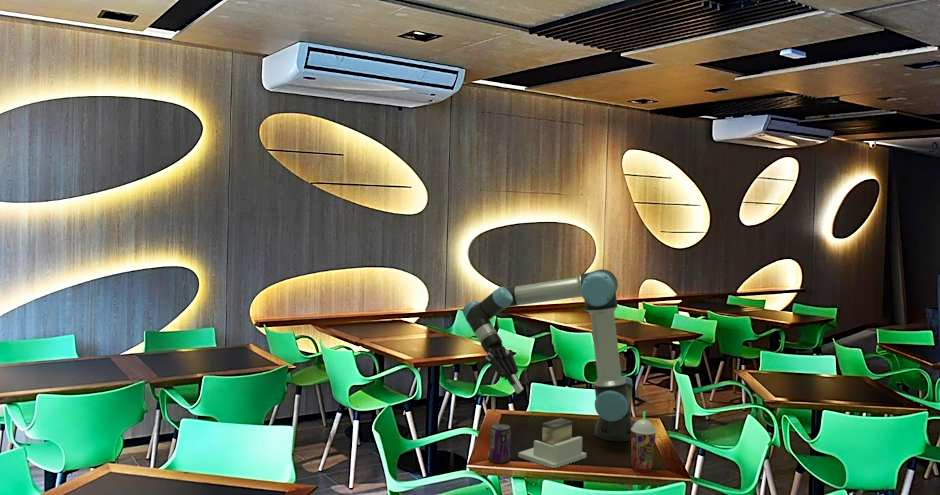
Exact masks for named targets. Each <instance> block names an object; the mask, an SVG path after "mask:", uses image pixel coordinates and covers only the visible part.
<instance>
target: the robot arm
mask: <svg viewBox="0 0 940 495" xmlns="http://www.w3.org/2000/svg"><path fill="white" fill-rule="evenodd" d="M617 290H618V279H617V277H616V275H615V274H614V273H613V272H611V271H609V270H608V269H596V270H594V271H590V272H586V273H580V274H579V276H576V277H571V278H564V279H557V280H549V281H544V282H537V283H530V284H524V285H517V286H511V287H509V286H508V287H507V286H505V287H504V286H500V287H498V288H497V289H495V290H493V291H492V293H490V294H489V295H488V296H486V297H485V298H484V299H483V300H481V301H480V302H479V301H478V300H472V301H470V302H469V303H467V304H466V305H464V306H463V308H462V314H463V317H464V318H465V321H466V322H467V323H468V325H469V327H470V328H471V331H472V332H473V334H474V335H475V337H476V339H477V341H478V342H479V343H480V345H481V347H482V349H483V351H484V352H485V353H486V354H487V355H486V356H485V357H484V360H485V361H486V362H488V364H490V365H491V367H492V368H493V370H495V372H496V373H497V374H498V376H499V377H500V378H502V379H504V381H505V380H507V381H508V383H509V384H510V385H511V387H512V388H513V389H514V391H515V393H516V394H517V395H518V394H520V393H521V392H522V391H523V390H524V387H523V386H522V384H521V380H520V378H518V376H517V373H518V372H519V368H518V366H517V363H516V361H515V357H514V356H513V350H512V349H509V350H508V349H507V348H506V347H505V346H504V345H503V340H502V339H501V337H500V335H499V334H498V333H497V332H498V331H497V330H496V329H495V326H494V325H493V324H492V322H491V320H492V319H493V318H494V317H496V316H497V315H499V313H501V312H502V311H503V310H505V309H507V308H510V307H511V308H512V307H517V306H524V305H530V304H531V305H532V304H537V303H539V304H540V303H546V302H554V301H562V300H567V299H573V298H574V299H575V298H583V299H584V300H583V301H584V307H585V309H584V310H585V311H586V312H588V314H589V316H590V322H591V331H592V340H593V341H592V342H593V350H594V356H595V357H594V358H595V364H596V365H595V366H596V376H597V379H596V380H595V381H594V384H593V385H594V393H595V400H594V408H595V411H596V413H597V415H598V418H597V422H596V423H595V428H594V435H595V436H596V437H597V438H599V439H602V440H604V441H610V442H627V441H628V442H629V441H631V428H632V426H633V424H634V423H633V420H632V400H633V387H634V385H633V379H632V378H630V377H628V376H624V375H623V376H622V371H621V370H622V368H621V362H620V361H621V360H620V352H619V344H618V336H617V335H618V334H617V327H616V318H615V311H616V309H617V308H618V299H617Z"/></svg>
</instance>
